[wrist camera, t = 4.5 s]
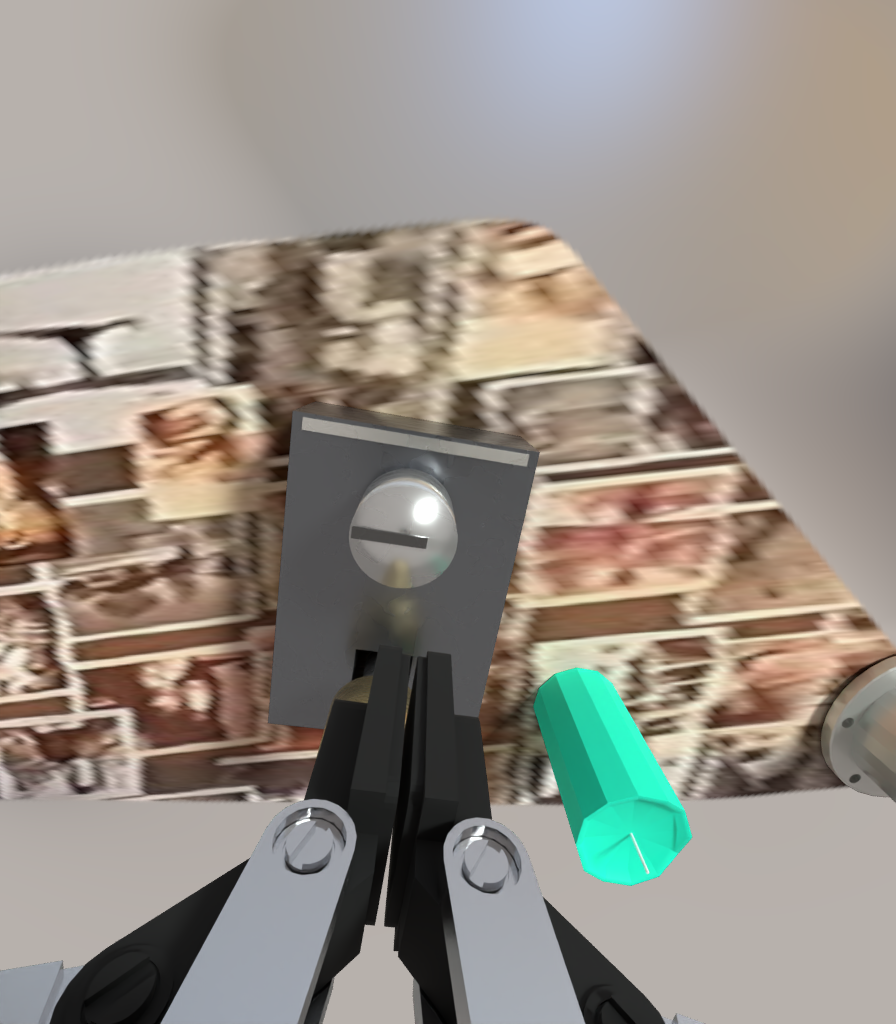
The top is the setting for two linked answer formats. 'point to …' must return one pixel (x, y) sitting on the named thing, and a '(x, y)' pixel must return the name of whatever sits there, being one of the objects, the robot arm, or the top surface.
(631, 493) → the top surface
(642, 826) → the candle
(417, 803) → the robot arm
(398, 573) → the knob
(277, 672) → the mount
